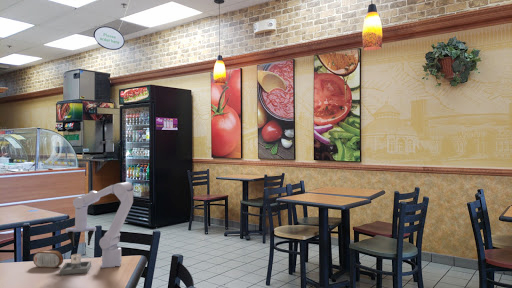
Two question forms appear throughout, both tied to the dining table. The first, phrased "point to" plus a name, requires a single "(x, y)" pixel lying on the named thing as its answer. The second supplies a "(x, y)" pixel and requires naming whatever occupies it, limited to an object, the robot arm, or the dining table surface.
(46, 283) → the dining table surface
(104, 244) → the robot arm
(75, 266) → the handled mug
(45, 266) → the tin
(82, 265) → the parts tray
